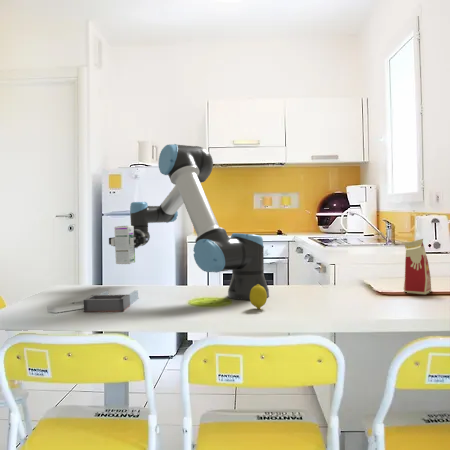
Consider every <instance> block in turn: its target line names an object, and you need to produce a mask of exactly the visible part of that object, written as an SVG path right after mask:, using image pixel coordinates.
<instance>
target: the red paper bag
mask: <svg viewBox="0 0 450 450" xmlns="http://www.w3.org/2000/svg"><path fill="white" fill-rule="evenodd" d="M402 244H403V245H404V247H405V259H404V261H405V264H404V281H403V282H404V283H403V290H404V291H405V292H407V293H406V294H417V295H427V294H429V293H430V292H431V291H432V280H431V279H432V277H431V271H430V264H429V261H428V260H429V259H428V256H427V251H426V249H425V245H424V238H420V239H417V240H414V241H406V242H402ZM404 291H403V292H404ZM429 291H430V292H429ZM405 292H404V293H405Z"/></svg>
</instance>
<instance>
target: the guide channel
mask: <svg viewBox="0 0 450 450" xmlns="http://www.w3.org/2000/svg"><path fill="white" fill-rule="evenodd" d="M98 295H109V291H108V290H104V291H102V292H100V293H98ZM128 295H130V306H131V305H132V304H133V303H135V302H136V301H137V300H138V299H139V290H134V291H131V292H130V293H129V294H128Z"/></svg>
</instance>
